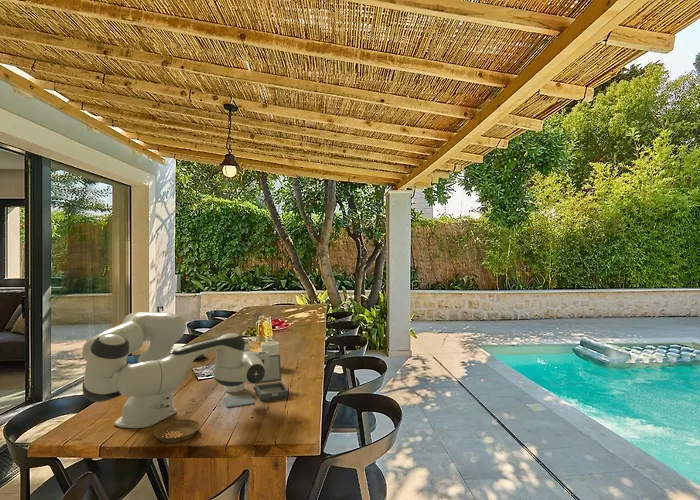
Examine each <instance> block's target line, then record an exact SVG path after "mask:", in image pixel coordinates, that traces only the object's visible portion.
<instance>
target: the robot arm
mask: <svg viewBox="0 0 700 500" xmlns="http://www.w3.org/2000/svg"><path fill="white" fill-rule="evenodd" d="M186 329H187V324H186V320H185V319H184V317H183V316H181V315H178V314H176V313H172V312H154V311H153V312H152V311H137V312H132V313H129V314H127V315H126V316H125V317H124V318H123V320H122V323H120V324H118V325H115V326H113V327H110V328H108V329H106V330H103V331H101V332H99V333H97V334H96V335H93V336H92V337H91V338H89V339H88V340H86V342H85V343H84V345H83V346H82V352H81V353H82V357H83V360H85V362H86V363H85V369H84V370H85V371H84V377H83V383H82V395H83V397H85V399H87V400H88V401H92V402H94V403H102V402H106V401H108V402H109V401H111V400H113V399H115V398H119V397H120V396H124V397H129V398H127V401H126V402H125V403H124V405H123V406H122V410H121V411H122V412H121V416H120V417H118V418H117V419H116V420H115V421H114V424H113V425H114V426H116V427H119V428H125V429H126V428H127V429H140V428H141V429H143V428H149V427H151V426H153V425H155V424H157V423H158V422H161V421H162V420H164V419H167V418H168V417H170V416H172V415H174V414H176V413H177V412H178V411H177V408H175V404H174V391H175V390H176V389H178V387H179V386H180V385H182V383H183V381H184V380H185V377H186V375H187V374H188V371H189V369H190V367H191V365H192V363H193V362H194V361H195V358H196V357H198V356H199V355H202V354H205V355H206V354H209V353H213V352H216V353H215V362H214V370H213V379H214V380H215V381H216V382H217V384H220V385H221V386H223V387H224V386H238V385H241V384H243V383H244V384H245V383H247V384H249V385H255V384H256V383H259V382H260V381H261V380H262V379H263V378H264V376H265V369H268V368H269V362H270V359H269V352H268V351H264V352H262V351H251V350H249V351H245V352H243V351H244V347H245V341H244V340H245V339H244V338H243V336H242V335H241V334H239V333H236V332H229V333H224V334H221V335H218V336H216V337H212V338H209V339H208V338H207V339H204V340H201V341H195V342H191V343H188V345H187V344H185V345H181V346H178V347H176V348H174V349H173V347H174V346H175V344H176V342H178V341H179V340H180V339H181V338H182V337H183V336H184V335H185V332H186ZM144 342H149V345H148V348H147V350H145V351H143V352H142V353H141V354H140V355H139V357H138V358H137V360H138V361H137V362H136V363H135V362H134V363H130V362H129V363H127V362H128V355H130V354H133V353H134V352H137V351H139V349H141V348H142V346H143V344H144ZM172 349H173V350H172ZM196 359H197V358H196Z"/></svg>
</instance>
